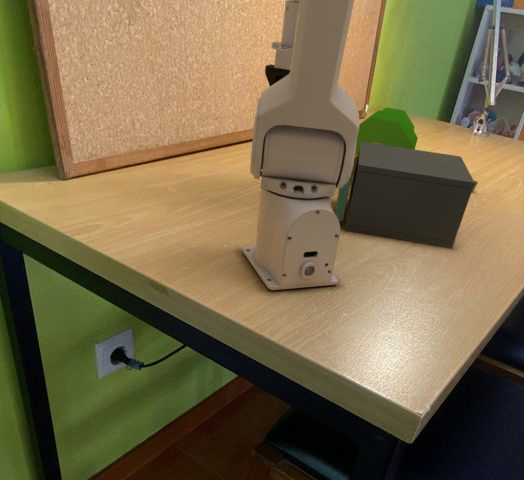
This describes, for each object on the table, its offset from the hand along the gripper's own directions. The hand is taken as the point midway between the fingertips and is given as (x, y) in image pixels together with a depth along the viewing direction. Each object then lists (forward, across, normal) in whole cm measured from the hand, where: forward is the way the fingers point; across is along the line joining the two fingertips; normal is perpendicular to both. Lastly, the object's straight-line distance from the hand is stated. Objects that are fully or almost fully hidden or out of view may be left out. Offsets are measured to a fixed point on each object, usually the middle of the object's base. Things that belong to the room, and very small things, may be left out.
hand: (293, 125), depth 68 cm
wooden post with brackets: (+10, -22, +24) cm, 34 cm away
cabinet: (+10, -2, +16) cm, 19 cm away
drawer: (+9, -1, +12) cm, 15 cm away
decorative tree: (+10, -23, +10) cm, 27 cm away
